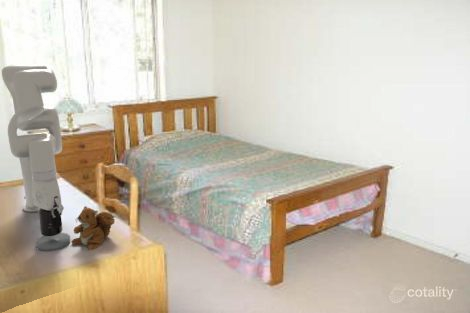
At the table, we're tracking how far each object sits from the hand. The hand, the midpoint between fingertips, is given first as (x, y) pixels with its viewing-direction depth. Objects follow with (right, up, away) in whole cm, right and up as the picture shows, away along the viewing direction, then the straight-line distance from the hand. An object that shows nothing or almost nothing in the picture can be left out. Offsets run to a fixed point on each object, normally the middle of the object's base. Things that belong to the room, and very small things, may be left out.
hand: (51, 224), depth 147 cm
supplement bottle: (0, -3, +1) cm, 3 cm away
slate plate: (0, -7, +2) cm, 7 cm away
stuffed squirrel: (+14, -7, +4) cm, 16 cm away
